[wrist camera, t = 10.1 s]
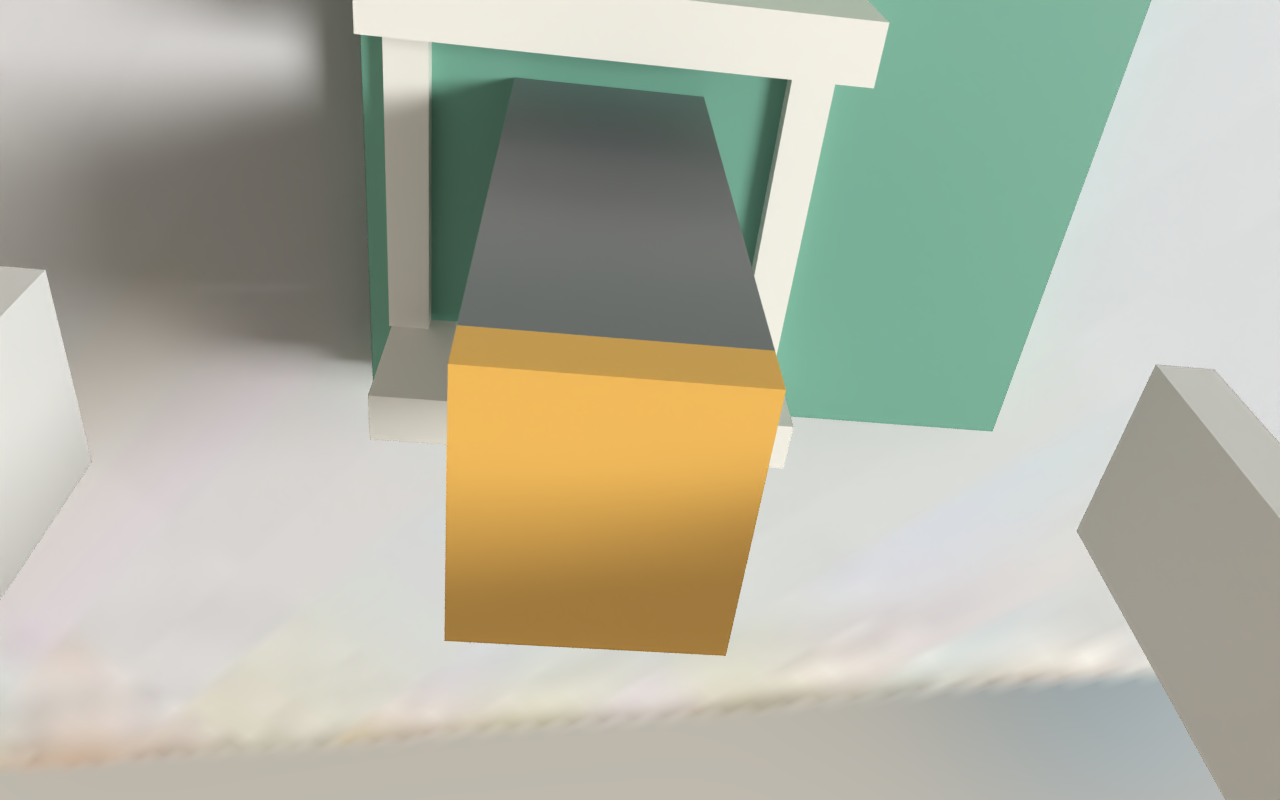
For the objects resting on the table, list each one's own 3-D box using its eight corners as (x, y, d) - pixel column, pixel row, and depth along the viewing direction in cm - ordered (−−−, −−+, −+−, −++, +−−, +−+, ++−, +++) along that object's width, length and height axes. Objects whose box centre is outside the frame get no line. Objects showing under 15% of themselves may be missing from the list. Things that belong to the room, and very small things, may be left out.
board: (354, -605, 15) (277, -708, 11) (1277, -457, 16) (1470, -507, 12) (382, 356, 23) (344, 469, 20) (976, 402, 25) (1039, 515, 21)
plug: (514, 77, 19) (447, 364, 10) (703, 96, 19) (786, 389, 11) (504, 299, 21) (443, 673, 13) (671, 313, 22) (718, 687, 13)
